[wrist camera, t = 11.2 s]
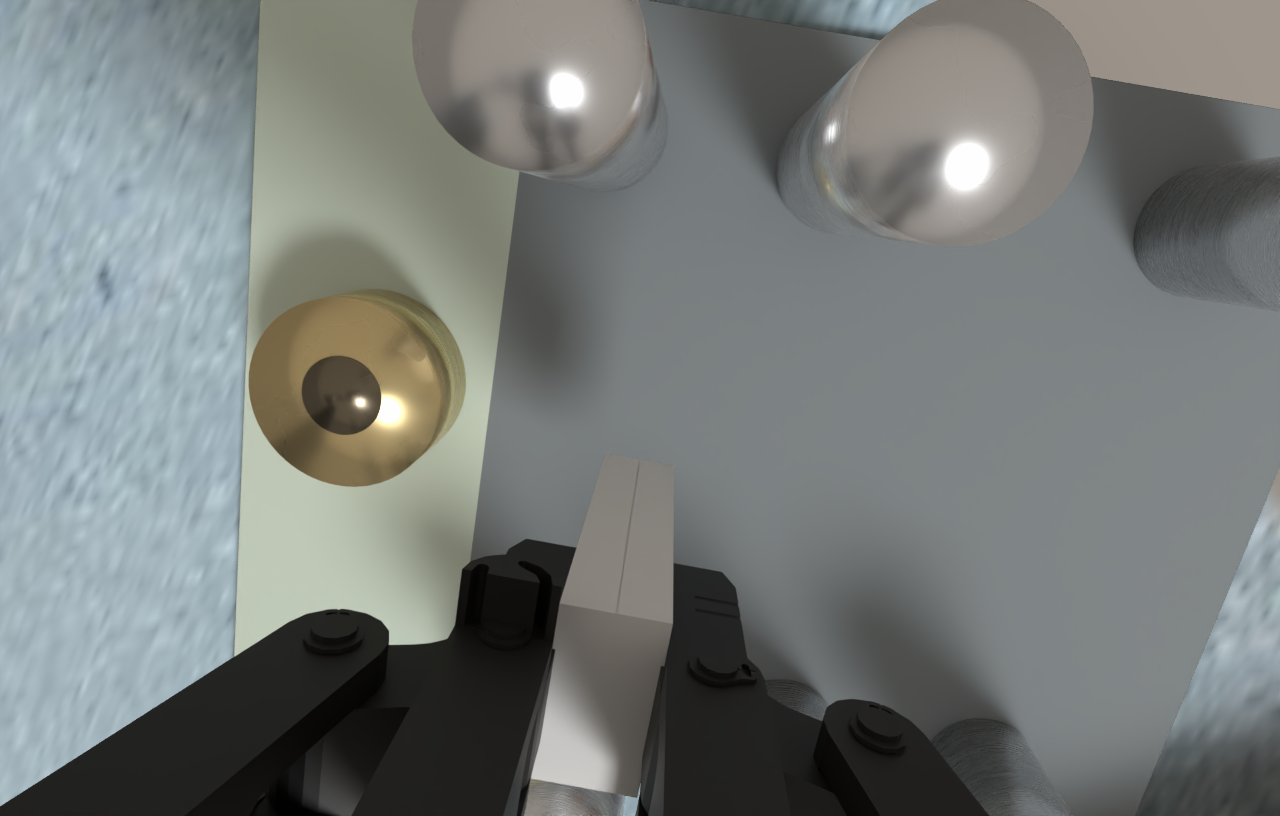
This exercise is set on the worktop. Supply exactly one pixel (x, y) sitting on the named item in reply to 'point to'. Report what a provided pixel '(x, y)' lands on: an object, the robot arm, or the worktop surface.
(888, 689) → the mat
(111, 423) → the worktop surface
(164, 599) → the worktop surface
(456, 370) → the nut
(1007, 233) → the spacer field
